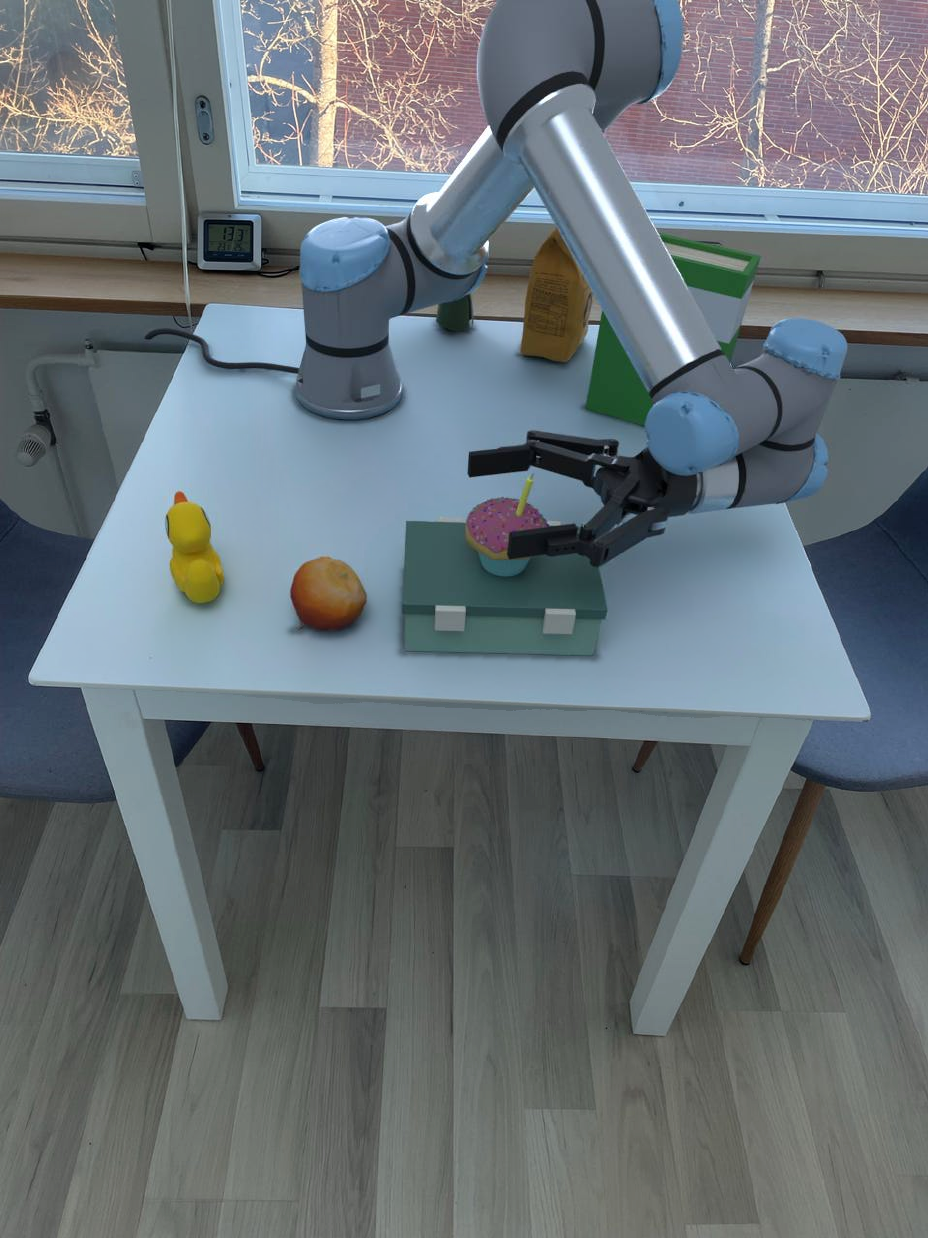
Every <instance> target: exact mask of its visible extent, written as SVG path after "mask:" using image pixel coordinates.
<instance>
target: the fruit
mask: <svg viewBox="0 0 928 1238" xmlns="http://www.w3.org/2000/svg"><path fill="white" fill-rule="evenodd" d="M367 596H368V595H367V592H366V590H365V587H364V585H363V582H362V581H361V579H360V578H359V576H358V574H357V573H356V571H355V570H354V569H353V568H352V567H351V565H349V564H348V563H347V562H345V561H343V560H341V559H335V558H332V557H331V556H320V557H318V558H313V559H311V560H308V561H305V562H304V563H302V564H301V566H299V568H297V570H296V572H295V573H294V576H293V579H292V583H291V586H290V590H289V597H290V601H291V602H292V605H293V608H294V611H295V615H296V616H297V617H298V621H299V625H297V627H296V628H295V629H296V631H299V630H300V629H301V628H302V627H303V626H306V627H308V628H311V629H314V630H318V631H322V632H323V631H325V632H326V631H327V632H328V631H341V630H345V629H346V628H348V627H349V626H351V625H352V624H353V623H354V622H355V621H356V620H357V619H358V618H359V617H360V615H361V614H362V612H363V610H364V609H365V606H366V604H367V602H368V600H367V599H368V598H367Z"/></svg>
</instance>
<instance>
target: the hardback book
mask: <svg viewBox="0 0 928 1238" xmlns="http://www.w3.org/2000/svg"><path fill="white" fill-rule="evenodd" d="M658 234H659V236H660V238H661V240H662V242H663V243H664V245H665V247H666V249H667V251H668V252H669V254H670V256H671V258H672V260H673V262H674V263H675V265H676V267H677V269H678V271H679V273H680V274H681V276H682V278H683V280H684V282H685V283H686V285H687V287H688V289H689V291H690V293H691V294H692V296H693V298H694V300H695V302H696V303H697V305H698V307H699V309H700V311H701V313H702V314H703V316H704V318H705V320H706V322H707V324H708V325H709V327H710V329H711V331H712V333H713V334H714V336H715V338H716V340H717V342H718V344H719V345H720V347H721V349H722V351H723V353H724V354H725V356H726V357H727V359H728V361H729V363H730V364H731V362H732V359H733V354H734V352H735V348H736V344H737V341H738V337H739V335H740V330H741V327H742V324H743V321H744V316H745V314H746V310H747V306H748V302H749V299H750V295H751V292H752V288H753V285H754V281H755V278H756V274H757V272H758V267H759V263H760V260H761V258H762V255H759V254H754V253H750V252H746V251H741V250H737V249H734V248H733V249H732V248H727V247H723V246H719V245H714V244H710V243H705V242H701V241H696V240H692V239H688V238H684V237H679V236H675V235H669V234H666V233H661V232H658ZM588 385H589V386H588V391H587V397H586V403H585V407H584V408H585V409H586V410H589V411H592V412H594V413H595V412H596V413H599V414H602V415H606V416H609V417H612V418H616V419H619V420H622V421H627V422H630V423H633V424H637V425H640V426H643V427H645V422H646V418H647V415H648V413H649V411H650V409H651V408H652V407H653V406H654V403H653V401H652V399H651V397H650V396H649V393H648V391H647V389H646V388H645V386H644V384H643V382H642V380H641V379H640V377H639V375H638V373H637V371H636V370H635V368H634V366H633V364H632V362H631V361H630V359H629V357H628V355H627V353H626V352H625V350H624V348H623V346H622V344H621V343H620V341H619V339H618V337H617V335H616V334H615V332H614V330H613V328H612V326H611V324H610V323H609V321H608V319H607V317H606V315H605V314H604V312H603V310H602V309H601V314H600V321H599V326H598V332H597V338H596V344H595V351H594V356H593V361H592V367H591V373H590V380H589V384H588Z"/></svg>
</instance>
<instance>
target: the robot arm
mask: <svg viewBox="0 0 928 1238" xmlns="http://www.w3.org/2000/svg"><path fill="white" fill-rule="evenodd" d="M684 35H685V34H684V21H683V14H682V10H681V7H680V4H679V1H678V0H497V2H496V3H495V4H494V6H493V7H492V9H490V12H489V14H488V17H487V19H486V21H485V23H484V26H483V28H482V31H481V35H480V39H479V43H478V47H477V48H478V49H477V54H476V81H477V88H478V93H479V99H480V103H481V107H482V110H483V114H484V118H485V120H486V123H487V128H486V129H485V130H484V132H483V133H482V134H481V135H480V136H479V138H478V139H477V141H476V142H475V143H474V145H473V146H472V147H471V149H470V151H469V152H468V153H467V154H466V156H465V157H464V158H463V159H462V161H461V162H460V164H459V165H458V166H457V168H456V169H455V170H454V172H453V173H452V174H451V176H450V177H449V179H448V180H447V181H446V182H445V184H444V185H443V187H442V188H441V189H440V191H439V192H431V193H428V194H425V195H424V196H422V197H421V198H420V199H419V200H417V202H416V203H415V205H414V206H413V207H412V209H411V210H410V211H409V213H408V214H407V216H405V219H403V220H401V221H400V222H397V223H392V224H389V225H384V224H383V223H382V222H381V221H378V220H376V219H374V218H369V217H363V216H362V217H361V216H354V217H353V218H352V217H351V218H348V217H347V216H346V217H345V216H344V217H339V218H334V219H330V220H328V221H325V222H322V223H320V224H318V225H316V226H315V227H313V228H312V229H311V230H309V231H308V232H307V234H305V236H304V238H303V240H302V242H301V244H300V251H299V269H298V271H299V272H298V274H299V278H300V283H301V294H302V308H303V320H304V321H303V322H304V334H305V335H304V336H305V346H304V350H303V354H302V357H301V361H300V364H299V367H297V366H290V365H283V364H278V363H272V362H271V363H270V362H262V361H261V362H259V361H250V362H249V361H247V362H228V361H227V362H226V361H221V360H217V359H214V358H212V357H211V355H210V351H209V346H208V345H209V344H208V343H207V342H206V340H205V339H204V338H203V337H201V336H199V335H197V334H195V333H191V332H188V331H184V330H182V329H179V328H178V329H177V328H170V327H161V328H156V329H153V330H152V329H151V331H149V332H148V333H146V334H145V336H144V340H147V341H150V340H152V339H154V338H155V337H157V336H161V335H171V336H177V337H181V338H184V339H188V340H190V341H193V342H195V343H197V344H199V345H200V346H201V353H202V357H203V359H204V361H205V362H206V363H207V364H209V365H210V366H213V367H216V368H220V369H225V370H226V369H227V370H247V369H248V370H250V369H257V370H259V369H260V370H270V371H276V372H283V373H289V374H296V383H295V388H296V390H295V391H296V397H297V399H298V402H299V403H300V404H301V405H302V407H304V408H305V409H307V410H309V411H310V412H311V413H313V414H316V415H318V416H322V417H325V418H329V419H336V420H343V421H345V420H346V421H347V420H349V421H351V420H352V421H353V420H364V419H365V420H366V419H370V418H374V417H378V416H380V415H382V414H385V413H387V412H389V411H391V410H392V409H394V407H396V406H397V405H398V403H400V401H401V398H402V379H401V376H400V374H399V372H398V371H399V370H398V367H397V365H396V362H395V359H394V355H393V353H392V350H391V346H390V338H389V337H390V320H391V319H394V318H396V317H400V316H403V315H407V314H411V313H413V312H415V311H420V310H423V309H424V310H425V309H427V308H430V307H434V306H438V304H441V303H445V302H452V301H455V300H458V299H461V298H462V297H464V296H465V295H468V294H470V293H471V294H472V293H473V292H475V291H476V290H477V289H478V287H479V286H480V285H481V283H482V282H483V280H484V279H485V276H486V273H487V271H488V266H487V264H486V262H488V261H489V256H490V253H489V240H490V239H491V238H492V237H493V236H494V235H495V234H496V232H497V231H499V229H500V228H501V227H502V226H503V224H504V223H505V222H506V221H507V220H508V219H509V218H510V217H511V215H513V213H514V212H515V211H516V210H517V209H518V208H519V206H521V204H522V203H524V201H525V200H526V198H527V197H528V196H530V194H531V193H532V192H533V191H534V189H535V191H536V193H537V195H538V196H539V198H540V200H541V202H542V203H543V205H544V207H545V209H546V211H547V212H548V215H549V216H550V218H551V220H552V221H553V223H554V225H555V228H556V227H557V229H558V231H559V232H560V234H561V236H562V238H563V240H564V241H565V243H566V245H567V247H568V249H569V250H570V252H571V254H572V256H573V258H574V260H575V261H576V263H577V265H578V267H579V269H580V270H581V272H582V274H583V276H584V278H585V279H586V281H587V283H588V285H589V287H590V288H591V290H592V292H593V297H595V299H596V301H597V303H598V304H599V306H600V308H601V311H602V310H603V312H604V314H605V315H606V317H607V319H608V321H609V323H610V324H611V326H612V328H613V330H614V332H615V334H616V335H617V337H618V339H619V341H620V343H621V344H622V346H623V348H624V350H625V352H626V353H627V355H628V357H629V359H630V361H631V362H632V364H633V366H634V368H635V370H636V371H637V373H638V375H639V377H640V379H641V380H642V382H643V384H644V386H645V388H646V389H647V391H648V393H649V396H650V397H651V399H652V401H653V403H654V406H653V407H652V408H651V409H650V411H649V413H648V415H647V418H646V422H645V426H644V433H645V434H646V439H647V441H646V445H647V446H646V447H644V449H642V450H641V451H640V452H639V453H638V454H636V455H635V456H626V455H625V456H624V455H621V454H620V452H619V450H618V449H619V445H620V442H619V440H618V439H615V438H605V439H603V438H601V439H595V438H588V437H583V436H582V437H581V436H575V435H568V434H561V433H555V432H549V431H541V430H537V429H530V430H528V431H527V432H526V440H525V443H522V444H515V445H510V446H509V445H507V446H499V447H497V448H491V449H490V448H489V449H480V450H472V451H471V450H470V451H468V458H467V459H468V460H467V472H466V473H467V476H468V478H469V479H470V478H478V477H486V476H495V475H504V474H513V473H522V472H528V471H529V469H530V468H531V467H534V468H538V469H540V470H544V471H548V472H551V473H554V474H557V475H560V476H564V477H567V478H571V479H573V480H578V481H581V482H582V484H583V485H584V486H585V487H587V488H591V489H593V491H594V493H595V494H596V495H598V497H600V501H601V503H602V505H603V506H602V507H601V508H600V509H599V510H598V511H597V512H596V513H595V515H593V516H592V518H591V519H589V520H588V521H587V522H586V523H585V524H584V523H581V525H580V527H581V529H580V533H577V530H578V528H577V526H578V525H577V524H576V523H574V522H573V523H566V524H561V525H558V526H551V527H543V528H536V529H528V530H521V531H513V532H509V541H508V549H507V556H508V558H509V559H517V558H524V557H531V556H538V555H545V554H546V555H547V556H552V557H554V556H561V555H568V554H575V553H577V554H579V555H581V556H586V557H588V558H589V559H590V565H592V566H593V567H599V568H600V567H602V566H604V565H605V564H607V563H609V562H610V561H611V560H613V559H615V558H617V557H618V556H620V555H621V554H623V553H625V552H627V551H628V550H630V549H632V548H633V547H634V546H636V545H638V544H640V543H641V542H642V541H643V542H644V540H646V539H649V538H653V537H657V536H662V535H663V534H664V533H665V531H666V527H667V524H668V520H669V518H673V517H680V516H681V517H682V516H685V515H686V514H689V515H694V514H700V513H708V512H716V511H722V510H731V509H738V508H747V507H757V506H764V505H779V504H785V503H789V502H791V501H796V500H799V499H805V498H808V497H811V496H813V495H815V493H817V492H818V491H819V490H820V489H821V488H822V486H823V485H824V483H825V481H826V480H827V476H828V473H829V469H828V468H827V462H828V461H829V451H828V449H827V445H826V443H825V441H824V439H823V438H822V436H820V435H819V433H817V432H818V430H819V428H820V426H821V423H822V421H823V418H824V416H825V413H826V410H827V408H828V405H829V403H830V400H831V398H832V396H833V393H834V391H835V388H836V385H837V383H838V381H840V379H841V371H842V368H843V366H844V361H845V358H846V355H847V353H848V342H847V339H846V338H845V336H844V335H843V334H842V333H841V332H840V331H839V330H838V329H836V328H835V327H834V326H831V325H829V324H827V323H824V322H822V321H819V320H815V319H809V318H803V317H802V318H801V317H791V318H786V319H782V320H780V321H777V322H775V324H773V326H772V327H771V328H770V330H769V333H768V334H767V337H766V340H765V342H763V344H762V352H761V354H760V356H758V357H757V358H754V359H752V360H750V361H747V362H745V363H743V364H741V365H738V366H736V367H733V366H732V365H731V362H730V363H729V361H728V359H727V357H726V356H725V354H724V353H723V351H722V349H721V347H720V345H719V344H718V342H717V340H716V338H715V336H714V334H713V333H712V331H711V329H710V327H709V325H708V324H707V322H706V320H705V318H704V316H703V314H702V313H701V311H700V309H699V307H698V305H697V303H696V302H695V300H694V298H693V296H692V294H691V293H690V291H689V289H688V287H687V285H686V283H685V282H684V280H683V278H682V276H681V274H680V273H679V271H678V269H677V267H676V265H675V263H674V262H673V260H672V258H671V256H670V254H669V252H668V251H667V249H666V247H665V245H664V243H663V242H662V240H661V238H660V236H659V234H658V233H659V232H658V231H657V229H656V227H655V225H654V223H653V221H652V220H651V218H650V216H649V214H648V212H647V211H646V208H645V206H644V205H643V203H642V202H641V200H640V198H639V196H638V194H637V192H636V190H635V189H634V187H633V185H632V183H631V182H630V179H629V178H628V176H627V174H626V172H625V171H624V169H623V167H622V165H621V163H620V162H619V160H618V158H617V156H616V154H615V153H614V151H613V149H612V146H611V145H610V143H609V141H608V140H607V138H606V136H605V134H604V133H605V132H606V131H607V129H609V128H610V127H611V126H612V124H613V123H614V122H615V121H616V120H617V119H618V118H619V117H620V116H621V114H622V113H623V112H624V111H625V110H627V109H628V108H629V107H631V106H632V105H635V104H636V105H644V104H648V103H649V102H651V101H653V100H655V99H656V98H658V97H659V96H661V95H662V94H663V93H665V92H666V91H667V89H668V88H669V87H670V85H671V84H672V83H673V81H674V79H675V77H676V75H677V73H678V71H679V67H680V65H681V61H682V56H683V48H682V47H683V46H682V43H683V38H684ZM476 288H477V289H476ZM475 289H476V290H475ZM474 290H475V291H474ZM597 466H599V468H598V469H597V470H596V467H597ZM630 514H632V515H635V516H632V517H631V518H630V519H628V520H627V521H625V522H623V521H624V520H625V519H626V517H627V516H629V515H630ZM622 522H623V523H622ZM621 523H622V524H621ZM616 525H617V526H616ZM615 526H616V527H615ZM614 527H615V528H614Z"/></svg>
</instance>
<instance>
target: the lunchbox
mask: <svg viewBox="0 0 928 1238" xmlns="http://www.w3.org/2000/svg"><path fill="white" fill-rule="evenodd" d="M465 523H466V522H464V518H463V517H442V516H441V517H440V516H438V517H437V516H436V517H435V521H428V520H406V521H405V536H404V537H405V538H404V559H403V579H402V580H403V581H402V582H403V583H402V603H401V605H402V606H401V609H402V610H401V613H402V615H404V651H405V652H433V653H434V652H437V653H441V652H442V653H474V654H515V655H550V656H551V655H553V656H587V657H588V656H591V657H592V656H593V657H594V654H595V649H596V646H597V641H598V637H599V632H600V628H601V623H602V621H603V620H606V618H607V613H608V605H607V600H606V596H605V591H604V586H603V581H602V576H601V575H602V574H601V570H600V567H593V566H592V565H590V559H589V558H588V557H586V556H581V555H579V554H577V553H575V554H568V555H561V556H554V557H552V556H547V555H546V554H545V555H538V556H533V557H531V558H530V560H529V561H528V563H527V565H526V567H525V569H524V570H523V571H522V572H521V573H519V574H517V575H514V576H509V577H502V576H497V575H494V574H491V573H490V572H488V571H487V570H486V569H485V568H484V567H483V566H482V564H481V560H480V556H479V553H478V551H476V550H474V549H473V548H472V547H471V546H470V545H469V544H468V542H467V541H466V538H465ZM547 524H549V527H551V526H558V525H562V521H558V520H547ZM576 526H577V528H578V530H577V533H580V529H581V526H580V525H579V526H578V525H576Z"/></svg>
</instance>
